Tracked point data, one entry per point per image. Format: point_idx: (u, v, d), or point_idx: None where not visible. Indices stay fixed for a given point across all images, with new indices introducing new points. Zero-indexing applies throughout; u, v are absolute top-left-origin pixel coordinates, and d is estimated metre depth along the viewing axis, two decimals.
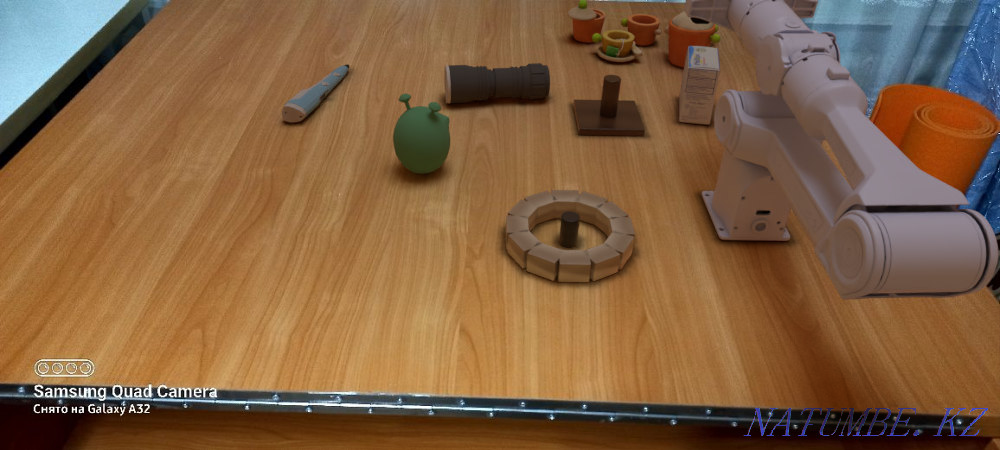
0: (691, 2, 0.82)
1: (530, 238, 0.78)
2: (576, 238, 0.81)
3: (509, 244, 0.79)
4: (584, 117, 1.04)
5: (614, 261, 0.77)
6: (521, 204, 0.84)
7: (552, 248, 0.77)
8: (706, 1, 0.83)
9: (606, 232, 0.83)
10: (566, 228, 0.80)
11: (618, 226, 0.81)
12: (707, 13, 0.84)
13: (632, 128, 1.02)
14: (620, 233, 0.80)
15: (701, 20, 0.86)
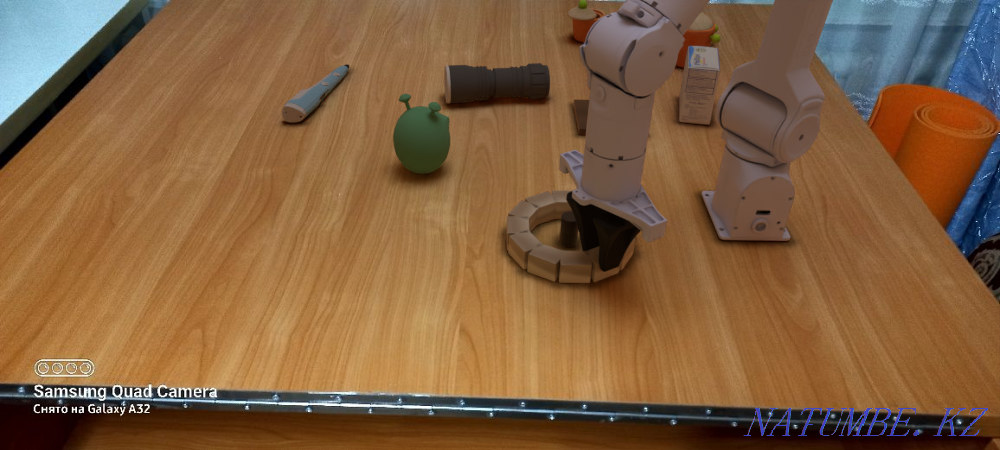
0: (652, 225, 0.66)
1: (531, 239, 0.78)
2: (576, 238, 0.81)
3: (510, 245, 0.79)
4: (584, 117, 1.04)
5: None
6: (521, 204, 0.84)
7: (553, 249, 0.77)
8: None
9: None
10: (566, 228, 0.80)
11: None
12: (648, 212, 0.69)
13: None
14: None
15: None
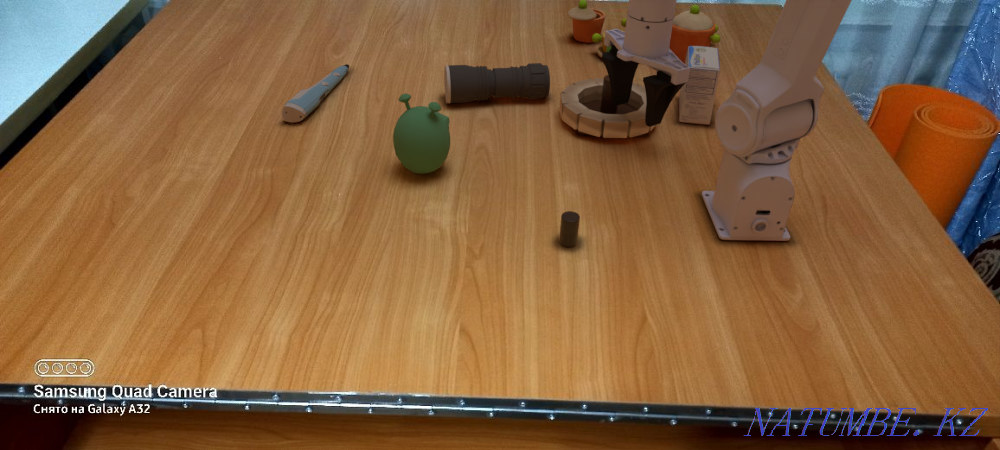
0: (679, 70, 0.89)
1: (580, 106, 1.01)
2: (576, 238, 0.81)
3: (564, 112, 1.02)
4: None
5: None
6: (571, 86, 1.07)
7: (598, 112, 1.00)
8: None
9: (638, 108, 1.06)
10: (566, 228, 0.80)
11: None
12: None
13: None
14: None
15: None
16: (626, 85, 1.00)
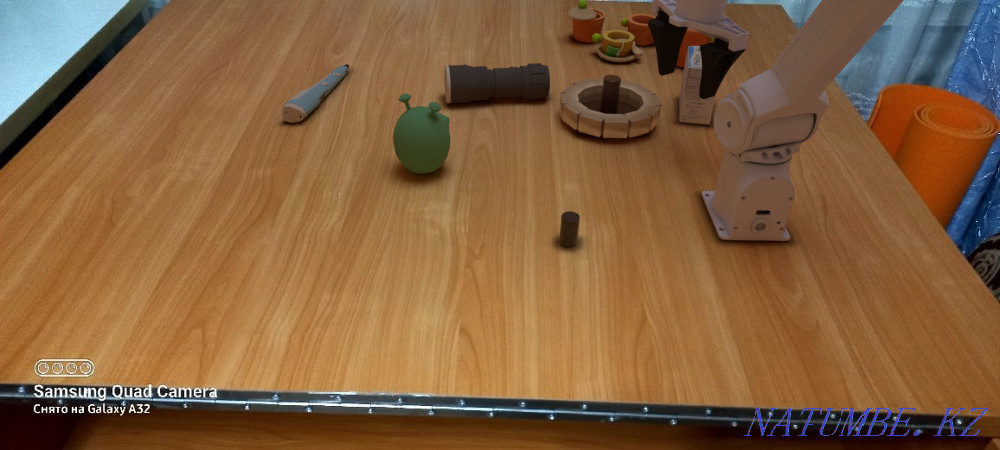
0: (738, 35, 0.83)
1: (580, 106, 1.01)
2: (576, 238, 0.81)
3: (564, 112, 1.02)
4: None
5: (646, 122, 1.00)
6: (571, 86, 1.07)
7: (598, 112, 1.00)
8: None
9: (638, 108, 1.06)
10: (566, 228, 0.80)
11: (648, 100, 1.03)
12: None
13: None
14: (650, 104, 1.02)
15: None
16: (673, 54, 0.95)
